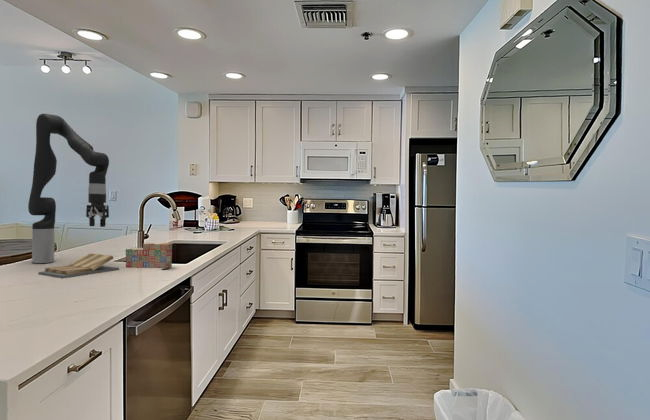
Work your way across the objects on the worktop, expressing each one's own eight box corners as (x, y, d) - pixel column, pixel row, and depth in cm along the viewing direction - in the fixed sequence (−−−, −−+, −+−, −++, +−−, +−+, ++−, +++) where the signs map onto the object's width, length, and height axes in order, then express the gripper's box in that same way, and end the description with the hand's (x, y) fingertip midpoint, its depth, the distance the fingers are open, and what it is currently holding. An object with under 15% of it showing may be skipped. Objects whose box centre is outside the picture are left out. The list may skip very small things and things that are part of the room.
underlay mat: (38, 274, 180) (38, 272, 180) (95, 266, 203) (95, 264, 203) (62, 278, 171) (62, 275, 171) (119, 269, 194) (119, 267, 194)
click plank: (69, 267, 191) (68, 264, 191) (90, 255, 200) (89, 253, 200) (92, 270, 183) (91, 268, 182) (113, 258, 192) (112, 255, 191)
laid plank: (45, 271, 182) (45, 268, 182) (67, 268, 190) (67, 265, 190) (68, 274, 173) (68, 271, 173) (90, 271, 182) (90, 268, 182)
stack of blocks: (125, 267, 201) (125, 243, 201) (132, 265, 208) (132, 241, 207) (166, 268, 199) (166, 243, 199) (172, 266, 206) (172, 242, 206)
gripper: (80, 193, 196) (80, 226, 196) (98, 192, 189) (98, 227, 189) (95, 193, 202) (95, 225, 202) (113, 193, 195) (113, 226, 196)
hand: (97, 226), depth 196 cm, fingers open, 8 cm apart
